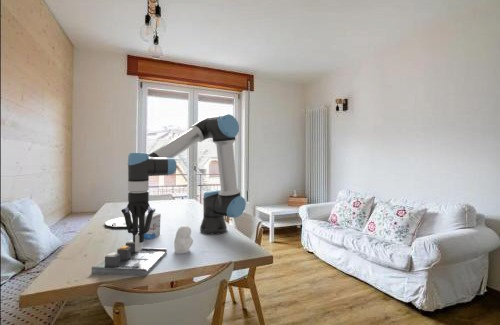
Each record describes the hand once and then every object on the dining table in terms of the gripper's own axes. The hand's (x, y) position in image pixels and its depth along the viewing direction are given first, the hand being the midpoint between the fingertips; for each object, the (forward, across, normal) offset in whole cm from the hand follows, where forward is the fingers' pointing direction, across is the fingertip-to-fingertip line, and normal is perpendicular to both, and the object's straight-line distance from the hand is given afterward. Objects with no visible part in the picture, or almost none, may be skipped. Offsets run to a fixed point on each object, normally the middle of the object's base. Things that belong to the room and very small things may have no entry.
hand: (138, 250), depth 106 cm
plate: (+6, +34, -57) cm, 66 cm away
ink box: (+5, +8, -33) cm, 34 cm away
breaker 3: (+4, +6, -7) cm, 10 cm away
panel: (+5, +2, 0) cm, 6 cm away
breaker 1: (+4, +6, +8) cm, 10 cm away
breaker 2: (+4, +6, 0) cm, 7 cm away
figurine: (+5, -14, -14) cm, 20 cm away
